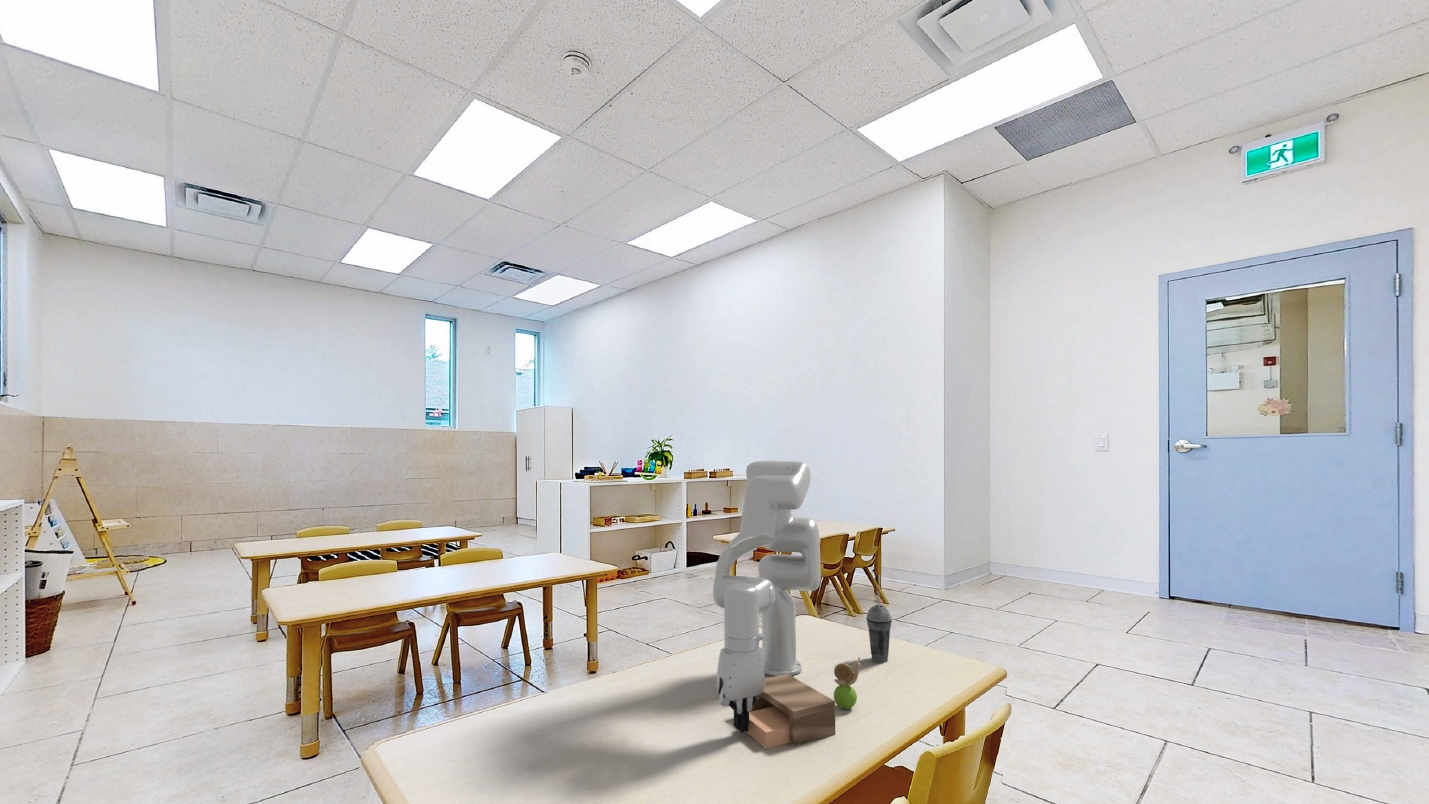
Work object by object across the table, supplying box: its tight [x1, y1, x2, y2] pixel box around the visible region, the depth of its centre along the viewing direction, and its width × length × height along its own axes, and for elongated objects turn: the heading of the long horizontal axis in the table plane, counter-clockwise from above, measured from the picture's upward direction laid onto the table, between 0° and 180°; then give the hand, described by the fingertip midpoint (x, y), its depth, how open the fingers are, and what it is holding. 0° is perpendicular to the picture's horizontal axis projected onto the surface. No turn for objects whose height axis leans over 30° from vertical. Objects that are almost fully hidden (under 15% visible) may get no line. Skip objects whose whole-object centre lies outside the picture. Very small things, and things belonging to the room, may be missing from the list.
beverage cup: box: [866, 590, 893, 664], centre depth 180 cm, size 7×7×20 cm
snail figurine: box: [833, 656, 861, 710], centre depth 147 cm, size 5×6×12 cm
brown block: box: [750, 674, 836, 747], centre depth 139 cm, size 18×11×7 cm, turn 28°
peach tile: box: [746, 706, 790, 749], centre depth 135 cm, size 10×14×4 cm
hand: (741, 729), depth 132 cm, fingers closed
